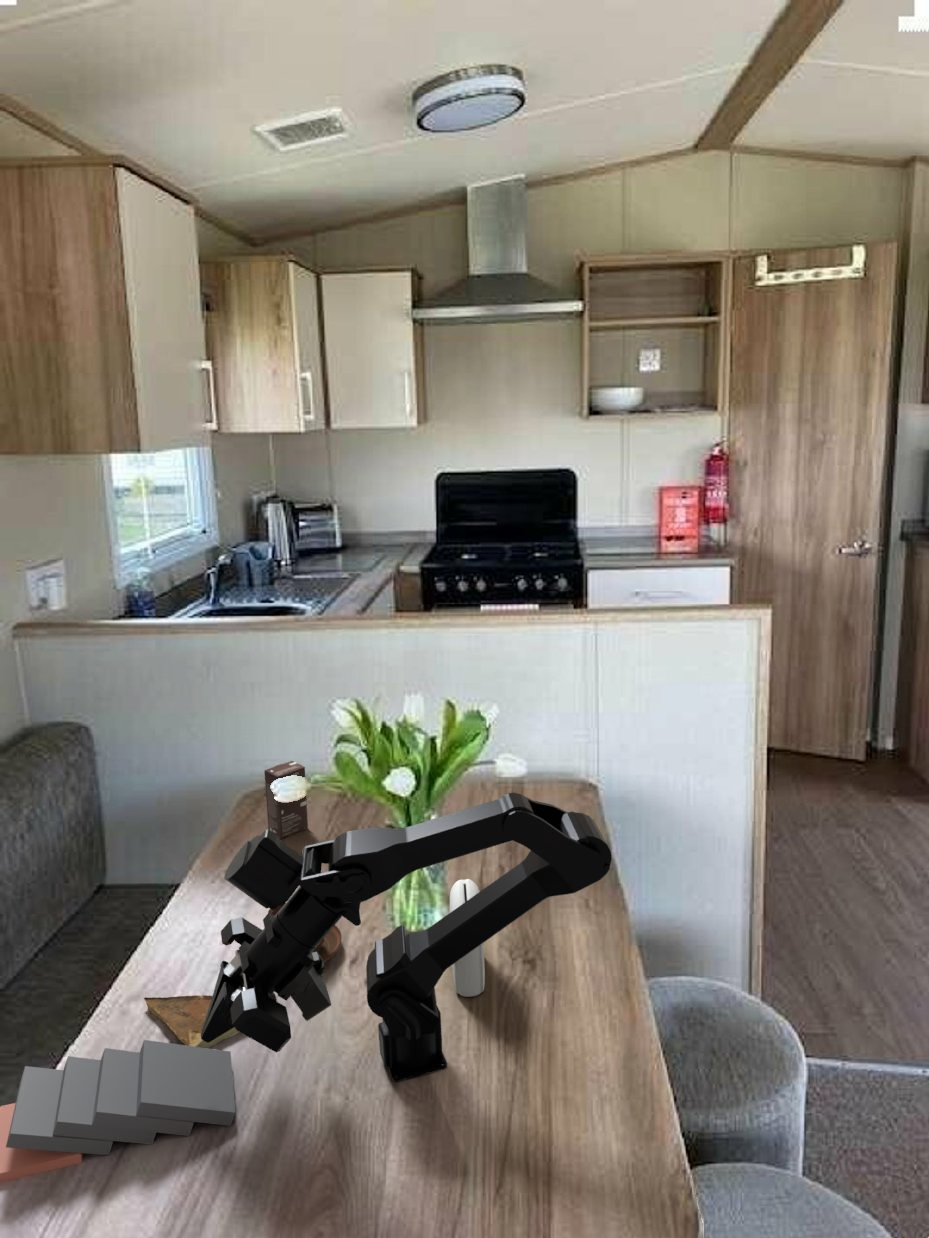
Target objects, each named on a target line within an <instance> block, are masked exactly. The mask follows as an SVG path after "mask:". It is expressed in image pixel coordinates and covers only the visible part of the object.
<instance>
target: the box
mask: <svg viewBox="0 0 929 1238" xmlns="http://www.w3.org/2000/svg"><path fill="white" fill-rule="evenodd" d="M291 775H297V776H302V777H305V778H306V767H305V766H304V765H301V764H300V763H297V762H295V761H294V760H289V761H288V762H284V763H281V764H280V763H279V764H277V765H275V766H273V767H269V768H266V769H264V783H265V799H266V811H267V812H266V814H267V815H266V816H267V828H268V829H269V830H270V831H272V832H273V833H274V834H276V835H277V836H278V838H279V839H283V838H286V837H288V836H291V835H293V834H295V833H298V832H300V831H302V830H306V829H308V828H309V824H308V823H309V822H308V821H309V820H308V807H307V805H308V804H307V795H306V796H305V797H304V798H302V799H300V800H298V801H293V802H289V803H281V802H278V801H276V800H275V799H274V794H273V792H272V791H271V789H270V785H271V783H272V782H273V781H274V780H276V779H278V778H283V777H286V776H291Z"/></svg>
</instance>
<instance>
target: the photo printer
mask: <svg viewBox="0 0 929 1238" xmlns="http://www.w3.org/2000/svg"><path fill="white" fill-rule="evenodd" d="M480 891H481V890H480V889H479V887H478V885H477V884H476V883H475V882H474V881H473V880H472V879H469V878H466V879H458V880H457V881H456V882H455V883H454V884H453V885H452V887H451V889H450V893H449V913H451V912H452V911H454V910H455V909H456V908H458V907H459V906H461V905H462V904H463V903H465V902H466V901H468V900H469V899H470V898H472V897H473V896H475V895H476V894H477V893H479V892H480ZM484 943H485V942H484ZM484 943H482V944H481V945H480V946H478V947H477V948H475V949H474V950H472V951H471V952H470V953H468V954H467V955H465V956H464V957H463V958H461V959H460V960H458V961H457V962H455V963H454V964H453V965H451V966H452V977H453V978H452V979H453V985H454V990H455V992H456V994H459V995H460V996H462V997H467V998H468V997H469V998H470V997H476V996H478V995H480V994H481V993H483V992H484V990H485V984H486V972H485V948H484V945H485V944H484Z"/></svg>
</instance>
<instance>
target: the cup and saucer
mask: <svg viewBox="0 0 929 1238" xmlns="http://www.w3.org/2000/svg"><path fill="white" fill-rule="evenodd" d="M284 905H285V903H284V904H283V905H282V906H278V907H277V908H276V909H274V910H271V909H270V908H268V909H269V910H268V911H267V914H268V913H270V914H272V915H273V916H275V915H276V914H277V913H278V912H279V911H280V909H281V908H282V907H283V906H284ZM342 937H343V935H342V932H341V930H340V928H339V927H338V925H337V924H335V925H334V927H333V928H332V929H331V930H330V931H329V933H328V934H327V935H326V936H325V937H324V939H323V940H322V941H321V942H320V943H319V944H318V946H317V947H316V948H315V949H314V950H313V952H318V953H319V955H320V956H321V958H322V959H323V962H324V963H326V962H327V961H328V960H330V959H331V958H332V957H333V956H334V955H335V954H336V953H337V952H338V950H339V949H340V947H341V945H342V939H343V938H342ZM313 952H312V953H313Z"/></svg>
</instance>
